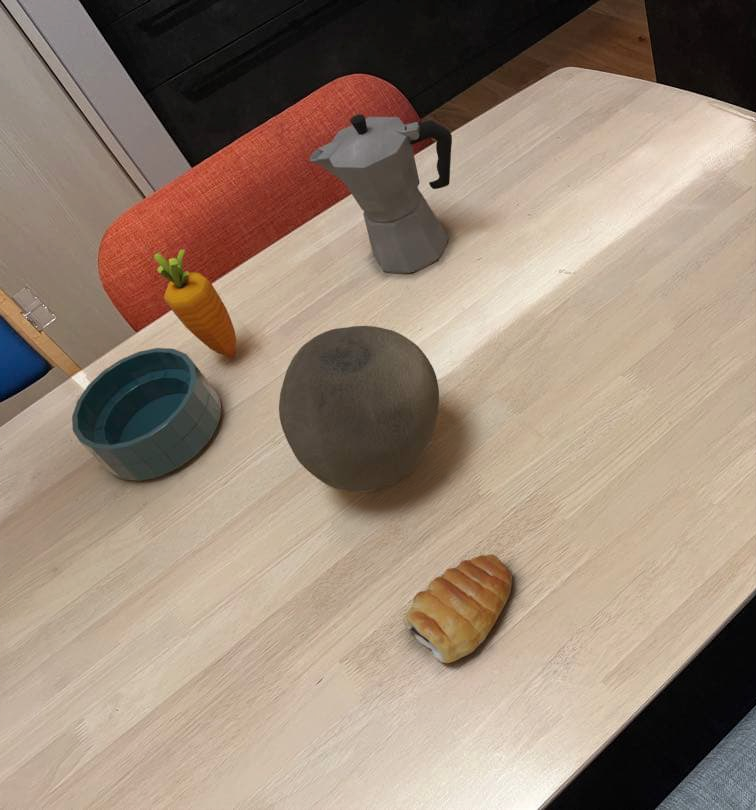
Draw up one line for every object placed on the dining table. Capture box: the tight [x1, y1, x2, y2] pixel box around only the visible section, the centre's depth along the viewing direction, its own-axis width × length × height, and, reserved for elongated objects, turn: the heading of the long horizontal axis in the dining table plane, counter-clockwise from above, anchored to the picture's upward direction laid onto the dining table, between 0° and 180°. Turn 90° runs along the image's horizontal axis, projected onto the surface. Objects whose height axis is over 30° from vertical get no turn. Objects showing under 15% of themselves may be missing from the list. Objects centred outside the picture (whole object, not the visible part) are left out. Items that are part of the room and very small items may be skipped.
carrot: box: [153, 249, 237, 359], centre depth 97 cm, size 5×5×15 cm
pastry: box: [402, 554, 513, 664], centre depth 74 cm, size 9×7×4 cm
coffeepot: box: [309, 113, 453, 275], centre depth 101 cm, size 15×9×18 cm, turn 94°
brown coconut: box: [278, 325, 440, 493], centre depth 82 cm, size 14×14×15 cm
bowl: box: [71, 347, 222, 482], centre depth 95 cm, size 13×13×6 cm
